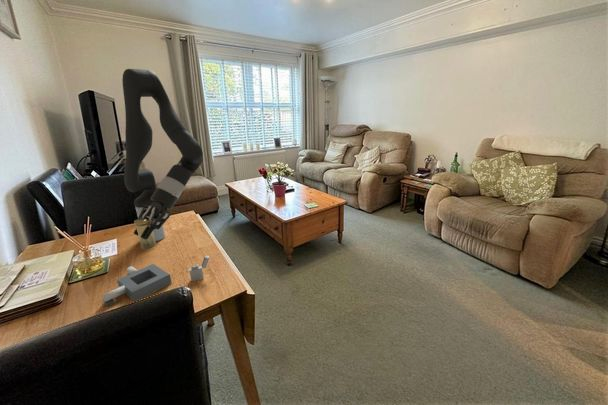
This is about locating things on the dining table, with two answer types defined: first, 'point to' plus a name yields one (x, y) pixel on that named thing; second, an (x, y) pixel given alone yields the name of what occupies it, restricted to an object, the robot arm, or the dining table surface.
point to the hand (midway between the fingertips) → (140, 236)
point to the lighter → (198, 270)
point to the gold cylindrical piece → (141, 226)
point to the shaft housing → (135, 277)
